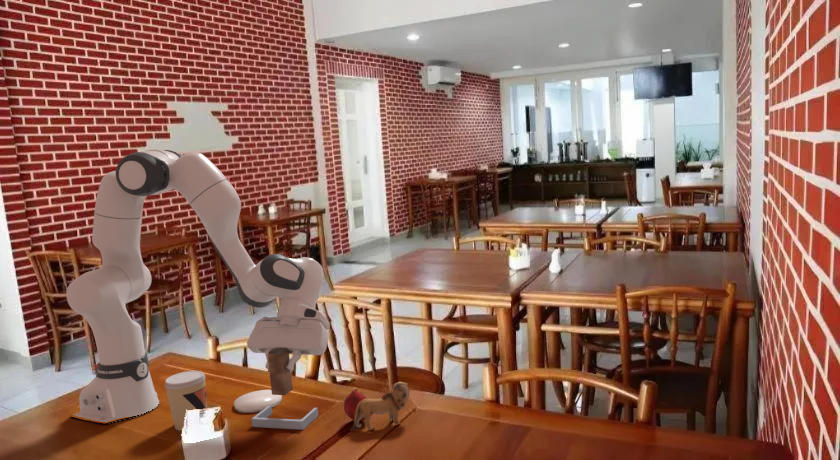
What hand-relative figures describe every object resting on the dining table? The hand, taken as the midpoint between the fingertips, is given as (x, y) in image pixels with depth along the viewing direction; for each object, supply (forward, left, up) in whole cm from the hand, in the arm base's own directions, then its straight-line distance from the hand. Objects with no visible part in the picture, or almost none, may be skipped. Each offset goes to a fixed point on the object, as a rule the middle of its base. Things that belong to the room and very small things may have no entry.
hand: (278, 369), depth 150 cm
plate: (-13, +9, -13) cm, 21 cm away
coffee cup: (-24, -4, -13) cm, 27 cm away
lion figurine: (+25, +1, -13) cm, 28 cm away
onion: (+18, +2, -13) cm, 23 cm away
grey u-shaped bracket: (0, +1, -13) cm, 13 cm away
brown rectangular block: (0, +1, -6) cm, 6 cm away
